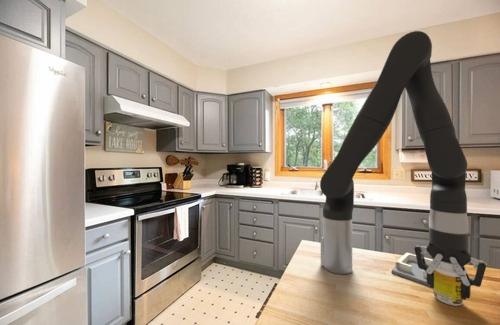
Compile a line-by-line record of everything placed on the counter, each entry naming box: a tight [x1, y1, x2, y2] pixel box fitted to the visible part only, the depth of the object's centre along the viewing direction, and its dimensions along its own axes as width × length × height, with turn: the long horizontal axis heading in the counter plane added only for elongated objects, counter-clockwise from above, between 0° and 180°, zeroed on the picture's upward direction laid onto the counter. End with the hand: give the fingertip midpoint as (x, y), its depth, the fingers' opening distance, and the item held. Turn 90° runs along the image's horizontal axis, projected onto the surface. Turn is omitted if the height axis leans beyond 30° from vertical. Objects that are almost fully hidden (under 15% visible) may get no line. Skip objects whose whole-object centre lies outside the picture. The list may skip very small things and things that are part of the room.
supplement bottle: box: [433, 261, 463, 307], centre depth 56 cm, size 6×6×10 cm
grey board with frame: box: [391, 252, 433, 287], centre depth 67 cm, size 16×14×3 cm
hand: (447, 292), depth 56 cm, fingers closed on supplement bottle, 5 cm apart
